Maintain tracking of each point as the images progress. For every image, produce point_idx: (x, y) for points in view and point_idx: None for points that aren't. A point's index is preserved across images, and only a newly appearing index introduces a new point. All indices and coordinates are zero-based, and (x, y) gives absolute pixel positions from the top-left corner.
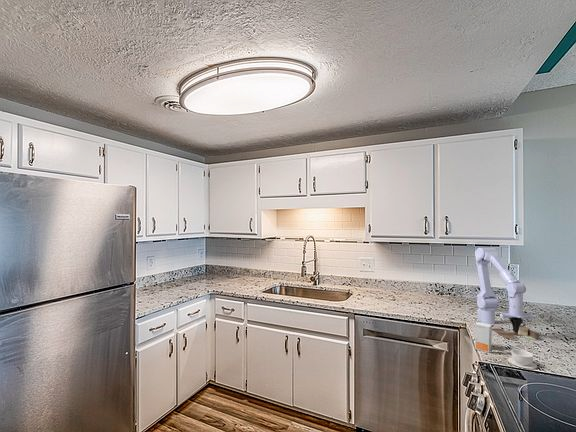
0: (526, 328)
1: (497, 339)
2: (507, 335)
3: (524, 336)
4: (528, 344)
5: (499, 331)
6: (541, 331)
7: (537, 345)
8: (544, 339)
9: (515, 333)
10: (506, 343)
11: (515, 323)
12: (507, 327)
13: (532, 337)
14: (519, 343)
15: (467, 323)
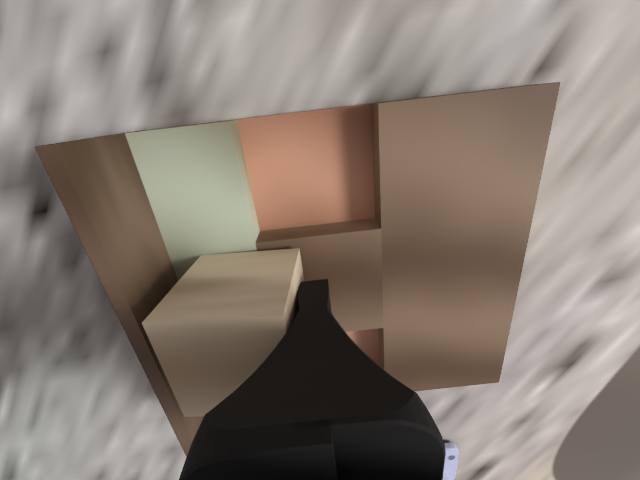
0: (173, 315)
1: (577, 151)
2: (447, 221)
3: (245, 230)
4: (281, 38)
5: (453, 327)
6: (17, 439)
7: (172, 21)
8: (29, 264)
9: None
10: (572, 12)
11: (374, 364)
12: None
13: (156, 215)
14: (386, 55)
15: (540, 469)
